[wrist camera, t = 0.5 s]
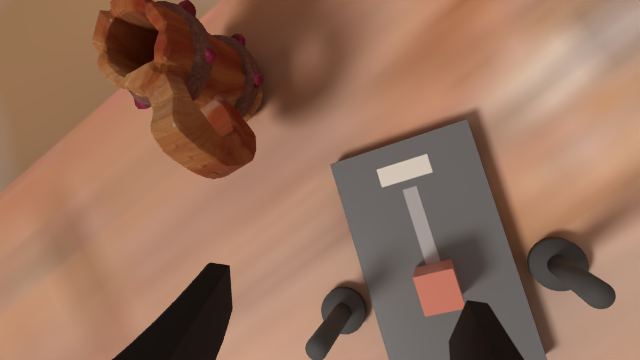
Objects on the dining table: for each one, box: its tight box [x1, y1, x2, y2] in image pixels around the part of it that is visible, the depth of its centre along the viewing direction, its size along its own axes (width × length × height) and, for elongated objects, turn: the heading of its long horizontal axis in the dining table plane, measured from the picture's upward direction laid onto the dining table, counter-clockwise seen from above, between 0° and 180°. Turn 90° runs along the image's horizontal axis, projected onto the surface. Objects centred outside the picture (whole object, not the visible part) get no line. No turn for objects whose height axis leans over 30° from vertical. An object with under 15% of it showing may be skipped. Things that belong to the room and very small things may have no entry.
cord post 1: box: [305, 287, 366, 360], centre depth 32 cm, size 4×4×9 cm
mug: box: [93, 0, 263, 179], centre depth 32 cm, size 15×8×15 cm, turn 28°
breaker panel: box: [330, 119, 547, 360], centre depth 33 cm, size 20×12×2 cm, turn 17°
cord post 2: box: [527, 238, 616, 309], centre depth 27 cm, size 4×4×9 cm
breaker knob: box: [413, 259, 465, 317], centre depth 31 cm, size 3×3×4 cm
